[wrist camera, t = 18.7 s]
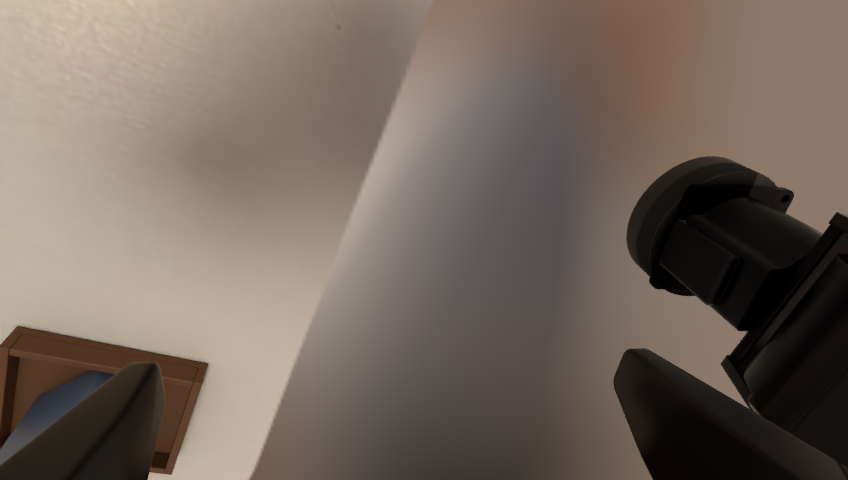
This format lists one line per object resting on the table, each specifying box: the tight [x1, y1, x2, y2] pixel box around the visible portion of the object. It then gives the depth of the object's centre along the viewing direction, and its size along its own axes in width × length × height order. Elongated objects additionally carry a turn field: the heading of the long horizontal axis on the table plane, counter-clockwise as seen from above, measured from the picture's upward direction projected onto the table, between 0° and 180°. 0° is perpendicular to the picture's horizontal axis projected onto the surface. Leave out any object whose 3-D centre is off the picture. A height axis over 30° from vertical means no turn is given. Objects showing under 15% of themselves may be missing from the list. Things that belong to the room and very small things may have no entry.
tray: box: [0, 327, 208, 475], centre depth 24 cm, size 8×7×1 cm
